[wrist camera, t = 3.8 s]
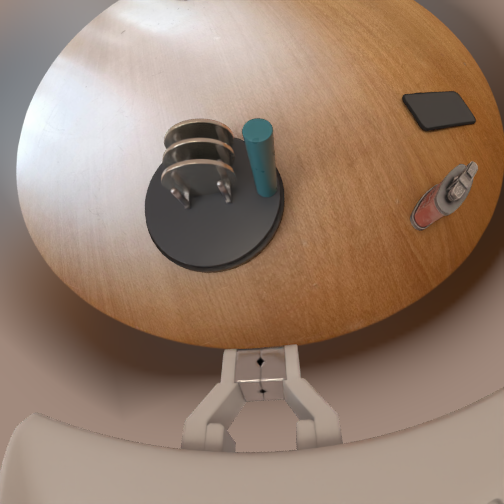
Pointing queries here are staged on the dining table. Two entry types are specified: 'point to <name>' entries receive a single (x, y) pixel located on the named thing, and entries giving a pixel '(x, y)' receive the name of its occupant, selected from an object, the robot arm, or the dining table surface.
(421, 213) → the lighter
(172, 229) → the dish rack
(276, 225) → the rack base
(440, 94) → the smartphone
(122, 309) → the dining table surface
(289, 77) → the dining table surface
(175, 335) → the dining table surface
